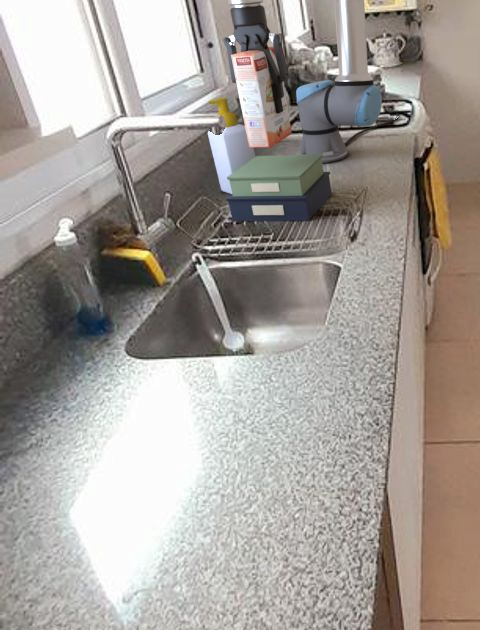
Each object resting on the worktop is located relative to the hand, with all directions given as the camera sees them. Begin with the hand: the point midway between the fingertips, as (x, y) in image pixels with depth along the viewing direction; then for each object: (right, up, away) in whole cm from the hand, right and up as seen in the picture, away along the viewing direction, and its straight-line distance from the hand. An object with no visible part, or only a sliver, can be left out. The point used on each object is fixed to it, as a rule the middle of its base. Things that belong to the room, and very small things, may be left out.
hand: (266, 112), depth 146 cm
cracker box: (+1, -6, +4) cm, 7 cm away
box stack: (+2, -21, +12) cm, 24 cm away
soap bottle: (-14, -13, +27) cm, 33 cm away
